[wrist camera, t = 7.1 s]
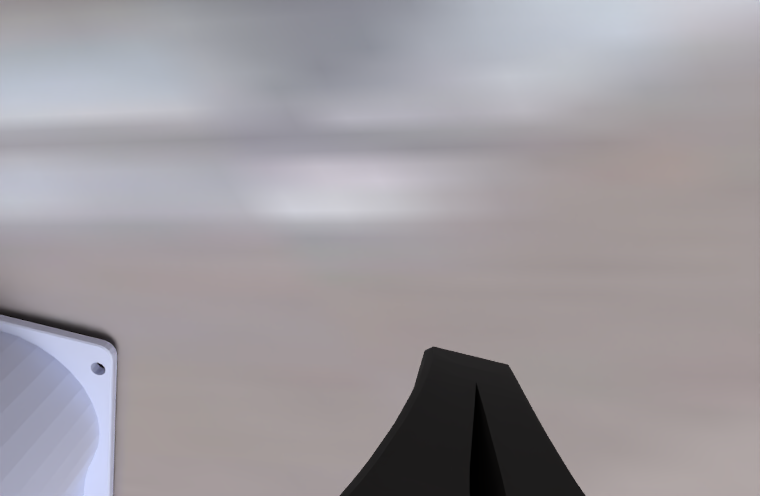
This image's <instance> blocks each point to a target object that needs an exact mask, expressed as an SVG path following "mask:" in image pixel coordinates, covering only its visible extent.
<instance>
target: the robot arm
mask: <svg viewBox="0 0 760 496" xmlns="http://www.w3.org/2000/svg"><path fill="white" fill-rule="evenodd" d="M97 363H100V364H102V365H103V366H104V367H105V368H102V367H100V366H99V365H98V364H97ZM116 376H117V352H116V349H115V348H114V346H113V345H112V344H111V343H109V342H107V341H105V340H102V339H98V338H94V337H90V336H86V335H82V334H78V333H73V332H69V331H65V330H61V329H57V328H53V327H49V326H45V325H41V324H37V323H33V322H29V321H25V320H21V319H16V318H12V317H8V316H4V315H0V496H113V479H114V444H115V410H116ZM340 496H585V494H584V493H583V492H582V490H581V489H580V487H579V486H578V484H577V483H576V481H575V480H574V478H573V477H572V475H571V474H570V472H569V470H568V469H567V467H566V465H565V464H564V462H563V460H562V459H561V457H560V455H559V454H558V452H557V451H556V449H555V447H554V446H553V444H552V442H551V441H550V439H549V437H548V436H547V434H546V432H545V430H544V429H543V427H542V425H541V423H540V421H539V420H538V418H537V416H536V414H535V412H534V411H533V409H532V407H531V405H530V403H529V402H528V400H527V398H526V396H525V394H524V392H523V390H522V389H521V387H520V385H519V383H518V381H517V379H516V378H515V376H514V374H513V372H512V370H511V369H510V367H509V365H507V364H503V363H499V362H495V361H490V360H486V359H482V358H478V357H474V356H470V355H466V354H462V353H458V352H454V351H449V350H445V349H441V348H437V347H432V348H429V349H427V350H425V351H424V355H423V358H422V362H421V365H420V369H419V372H418V376H417V379H416V383H415V386H414V389H413V391H412V393H411V395H410V397H409V399H408V400H407V402H406V404H405V406H404V408H403V409H402V411H401V413H400V415H399V416H398V418H397V420H396V422H395V423H394V425H393V426H392V428H391V429H390V431H389V432H388V434H387V435H386V436H385V438H384V439H383V441H382V442H381V444H380V445H379V447H378V448H377V449H376V451H375V452H374V454H373V455H372V457H371V458H370V459H369V461H368V462H367V463H366V464H365V466H364V467H363V468H362V470H361V471H360V472H359V473H358V475H357V476H356V477H355V478H354V480H353V481H352V482H351V483H350V484H349V486H348V487H347V488H346V489H345V490H344V491H343V492H342V494H341V495H340Z"/></svg>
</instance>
